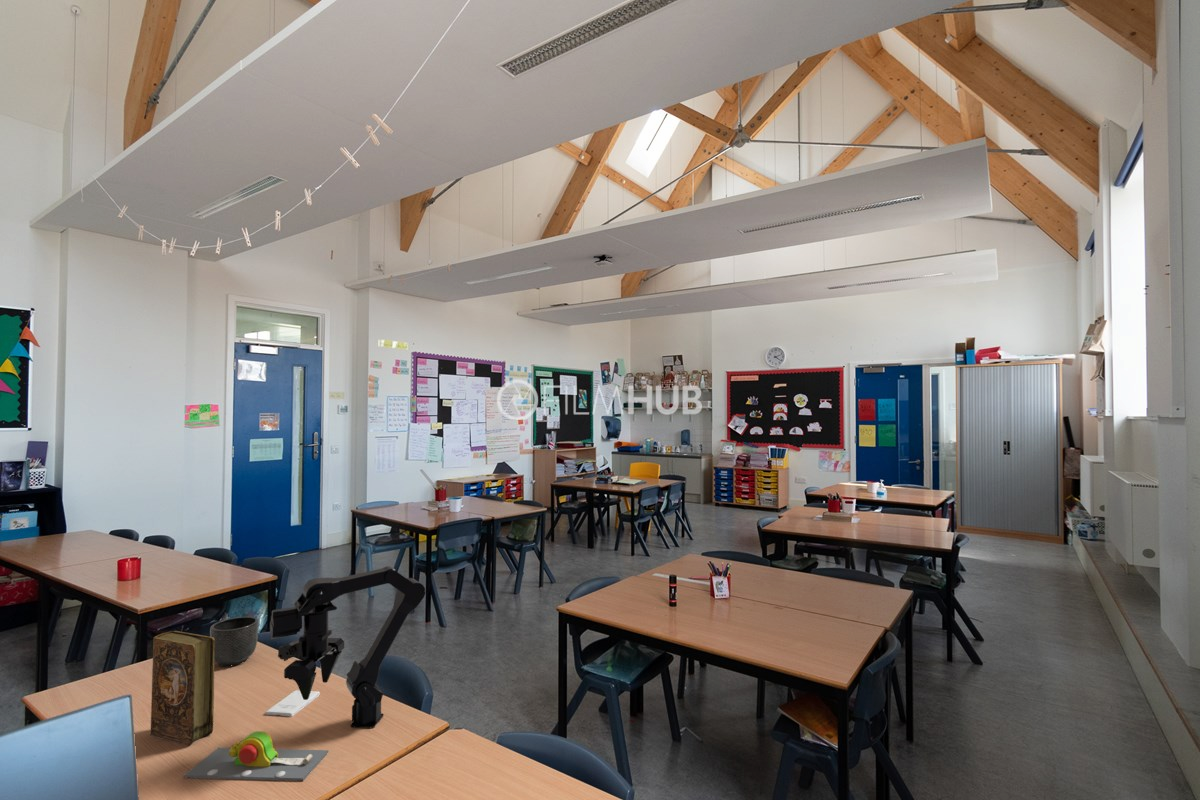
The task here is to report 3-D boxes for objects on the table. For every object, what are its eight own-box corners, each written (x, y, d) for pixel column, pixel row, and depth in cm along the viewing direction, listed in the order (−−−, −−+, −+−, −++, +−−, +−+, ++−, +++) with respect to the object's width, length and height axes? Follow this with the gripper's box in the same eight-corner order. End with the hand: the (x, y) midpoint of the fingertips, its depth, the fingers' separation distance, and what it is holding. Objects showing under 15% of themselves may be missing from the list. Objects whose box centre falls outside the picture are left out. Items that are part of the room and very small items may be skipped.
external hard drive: (320, 697, 168) (291, 718, 156) (294, 695, 169) (264, 716, 157) (320, 691, 168) (291, 712, 156) (294, 689, 169) (264, 710, 157)
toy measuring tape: (239, 753, 137) (239, 726, 138) (317, 755, 137) (317, 727, 137) (220, 769, 131) (221, 740, 131) (302, 771, 130) (303, 742, 131)
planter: (198, 669, 186) (199, 629, 187) (232, 652, 200) (233, 615, 200) (235, 672, 184) (236, 631, 184) (267, 654, 198) (268, 617, 198)
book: (146, 734, 147) (149, 637, 148) (169, 724, 152) (171, 630, 153) (191, 746, 142) (194, 645, 143) (212, 735, 147) (215, 637, 148)
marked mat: (328, 752, 139) (328, 749, 139) (303, 781, 128) (303, 777, 128) (218, 749, 140) (218, 746, 140) (183, 777, 129) (183, 774, 129)
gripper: (305, 616, 156) (305, 674, 156) (263, 643, 137) (262, 708, 137) (345, 617, 156) (345, 674, 155) (307, 643, 137) (307, 709, 136)
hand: (315, 690), depth 146 cm, fingers open, 9 cm apart
